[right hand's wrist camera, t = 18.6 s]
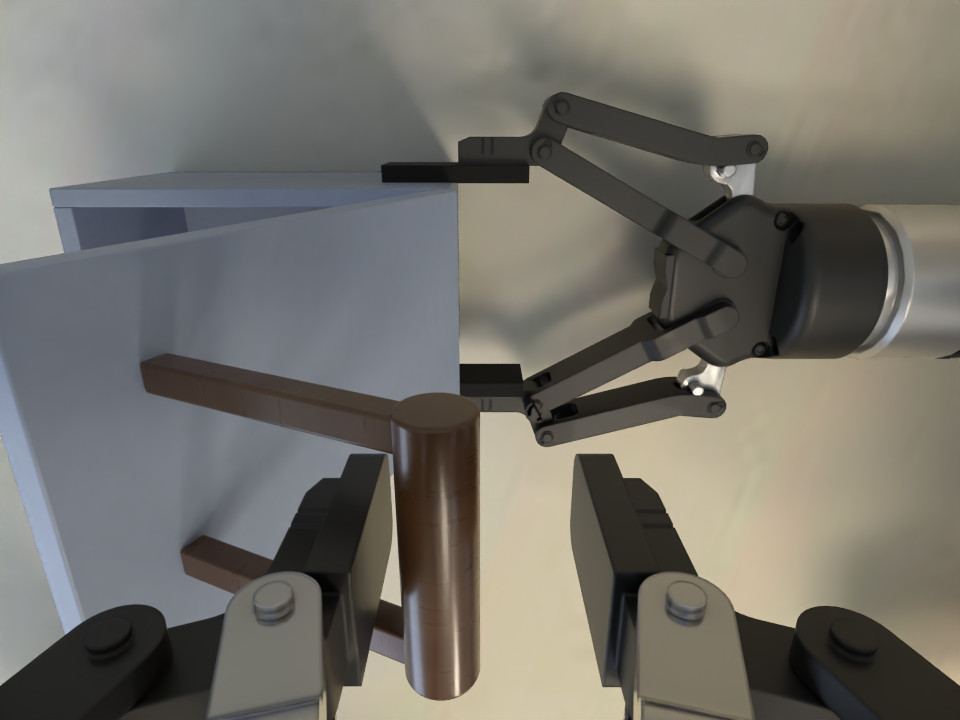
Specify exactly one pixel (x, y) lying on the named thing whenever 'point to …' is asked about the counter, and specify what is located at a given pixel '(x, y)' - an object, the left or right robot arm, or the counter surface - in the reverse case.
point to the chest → (207, 202)
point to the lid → (248, 414)
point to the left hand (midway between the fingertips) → (391, 282)
